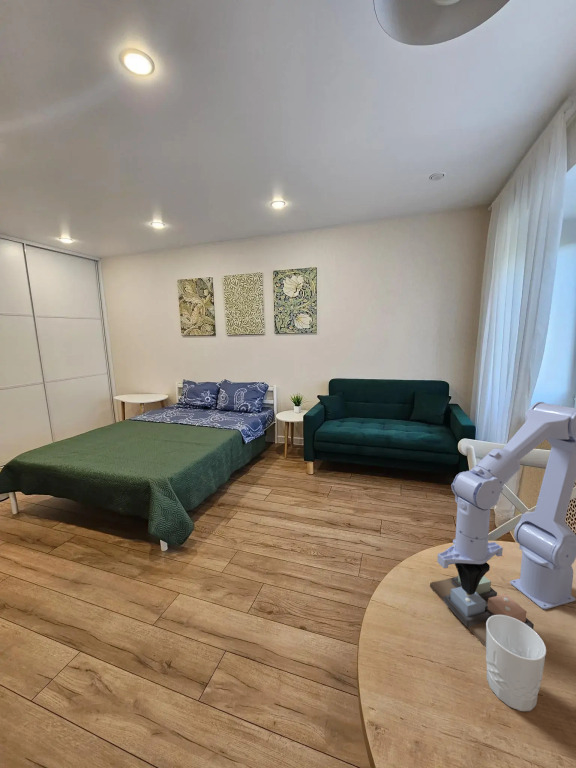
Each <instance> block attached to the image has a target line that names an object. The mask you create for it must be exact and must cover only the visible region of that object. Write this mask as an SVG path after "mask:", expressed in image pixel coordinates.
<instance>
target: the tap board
mask: <svg viewBox="0 0 576 768" xmlns="http://www.w3.org/2000/svg"><path fill="white" fill-rule="evenodd" d="M429 587H430V589H431V590H432V591H433V592H435V594H436V595H437V596H438V597H439V598H440V599H441V601H443V602H444V604H445V605H446V606H447V607H448V608H449V609H450V611H451V612H452V613H453V614H454V615H455V616H456V617H457V618H458V619H459V621H461V622H462V623H463V625H464V626H465V628H467V629H468V630H469V631H470V632H471V634H473V636H474V637H475V638H476V639H477V640H478V641H479V642H480V644H482V645H483V647H484V648H486V622H487V620H488V618H489V617H491V616H493V614H492V613H491V612H490V611H489V610H488V598H491V597H495V596H498V592H497V591H496V590H495V589H493V588H492V586H491V587H490V592H487V593H483V594H479V596H480V597H482V598H483V599H484V600H485V601H486V604H485V612H484V613H480V614H477V615H473V616H469V617H466V616H465V614H464V613H463V612H462V611H461V610H460V609H459V608H458V607H457V606H456V605H455V604H454V603H453V602H452V601H451V600H450V597H451V589H454V588H458V587H462V586H461V583H460V582H459V581H458V576H452V577H450V578H446V579H441V580H435V581H433V582H430V583H429ZM525 624H526V625H528V626H529V627H530V628H532V629H533V630H534V625H535V624H534V623H533V622H532V620H530V619H528V618H527V617H526V623H525Z"/></svg>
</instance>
